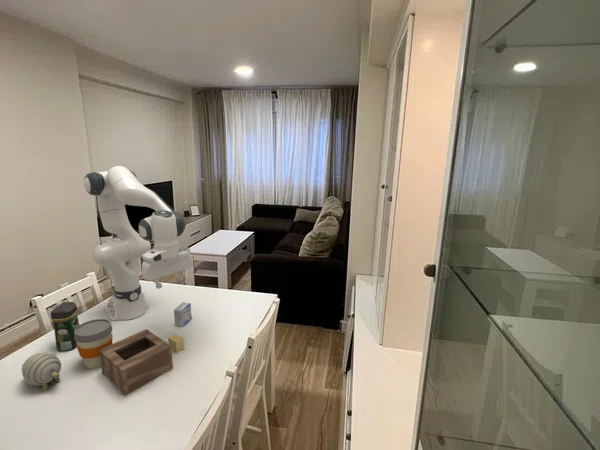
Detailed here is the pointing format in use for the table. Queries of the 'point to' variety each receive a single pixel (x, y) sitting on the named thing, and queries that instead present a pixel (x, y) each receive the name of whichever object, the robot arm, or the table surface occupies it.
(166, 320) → the table surface
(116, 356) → the box
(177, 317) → the medicine box
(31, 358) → the toy sheep
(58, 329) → the coffee jar
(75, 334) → the reusable coffee cup
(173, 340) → the tan wooden block
